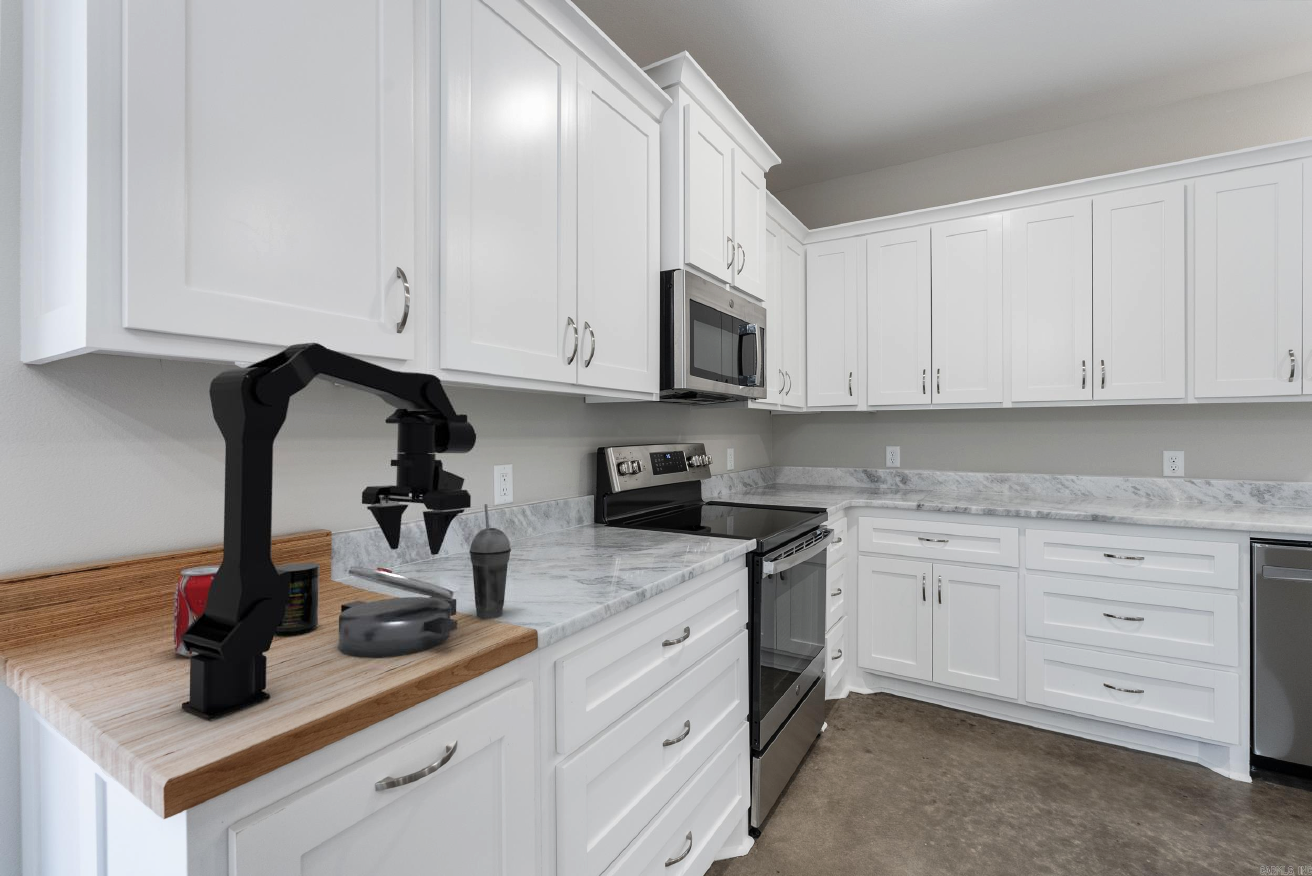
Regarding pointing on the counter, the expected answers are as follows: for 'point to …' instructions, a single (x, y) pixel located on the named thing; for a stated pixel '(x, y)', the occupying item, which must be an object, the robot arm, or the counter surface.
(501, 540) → the beverage cup
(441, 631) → the pressure cooker pot
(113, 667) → the counter surface
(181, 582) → the soda can
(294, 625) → the supplement container
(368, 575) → the pressure cooker lid
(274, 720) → the counter surface
